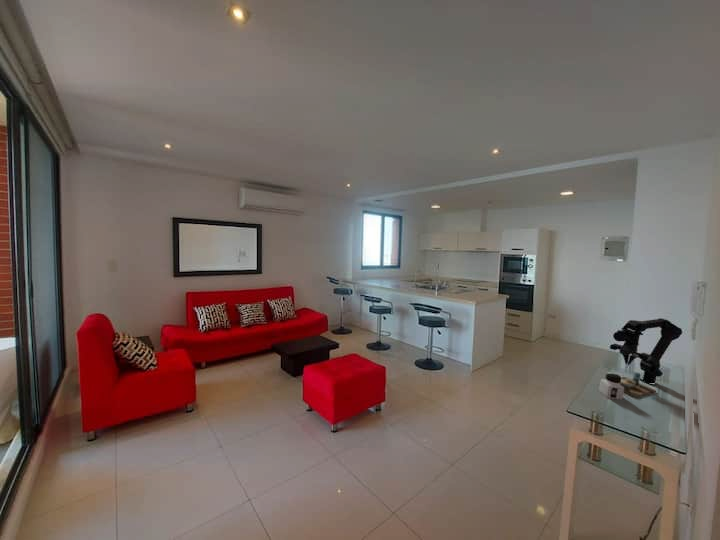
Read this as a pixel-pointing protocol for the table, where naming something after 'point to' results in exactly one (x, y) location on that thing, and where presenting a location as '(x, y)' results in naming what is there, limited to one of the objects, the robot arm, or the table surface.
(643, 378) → the robot arm
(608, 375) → the container
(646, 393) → the stand
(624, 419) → the table surface
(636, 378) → the capstan
